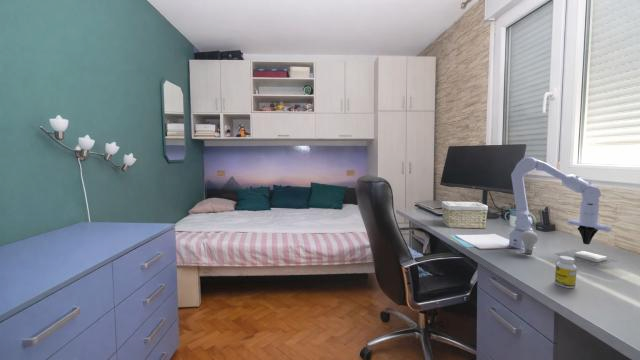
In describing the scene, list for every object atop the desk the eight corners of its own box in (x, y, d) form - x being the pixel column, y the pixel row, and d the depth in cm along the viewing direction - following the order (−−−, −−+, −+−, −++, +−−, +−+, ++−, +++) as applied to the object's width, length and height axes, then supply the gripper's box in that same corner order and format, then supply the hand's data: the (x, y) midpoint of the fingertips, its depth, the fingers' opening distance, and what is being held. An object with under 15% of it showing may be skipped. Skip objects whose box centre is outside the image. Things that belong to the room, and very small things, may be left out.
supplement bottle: (550, 281, 100) (552, 255, 99) (564, 281, 101) (566, 254, 100) (565, 289, 95) (567, 260, 94) (579, 288, 95) (582, 260, 94)
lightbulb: (533, 253, 130) (535, 229, 129) (539, 257, 124) (540, 233, 123) (518, 251, 132) (519, 228, 131) (522, 255, 126) (524, 231, 125)
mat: (595, 267, 113) (595, 265, 113) (553, 254, 127) (553, 253, 127) (617, 261, 119) (618, 260, 119) (575, 250, 133) (575, 249, 133)
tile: (573, 256, 124) (596, 262, 117) (574, 252, 124) (597, 258, 116) (583, 254, 126) (606, 260, 119) (583, 250, 126) (607, 256, 119)
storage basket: (446, 228, 175) (447, 204, 174) (439, 222, 191) (440, 200, 190) (488, 229, 171) (489, 205, 170) (477, 223, 187) (478, 201, 186)
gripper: (616, 215, 116) (613, 247, 118) (574, 209, 130) (572, 238, 131) (606, 217, 114) (604, 249, 115) (565, 210, 127) (562, 239, 129)
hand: (586, 243), depth 123 cm, fingers closed
